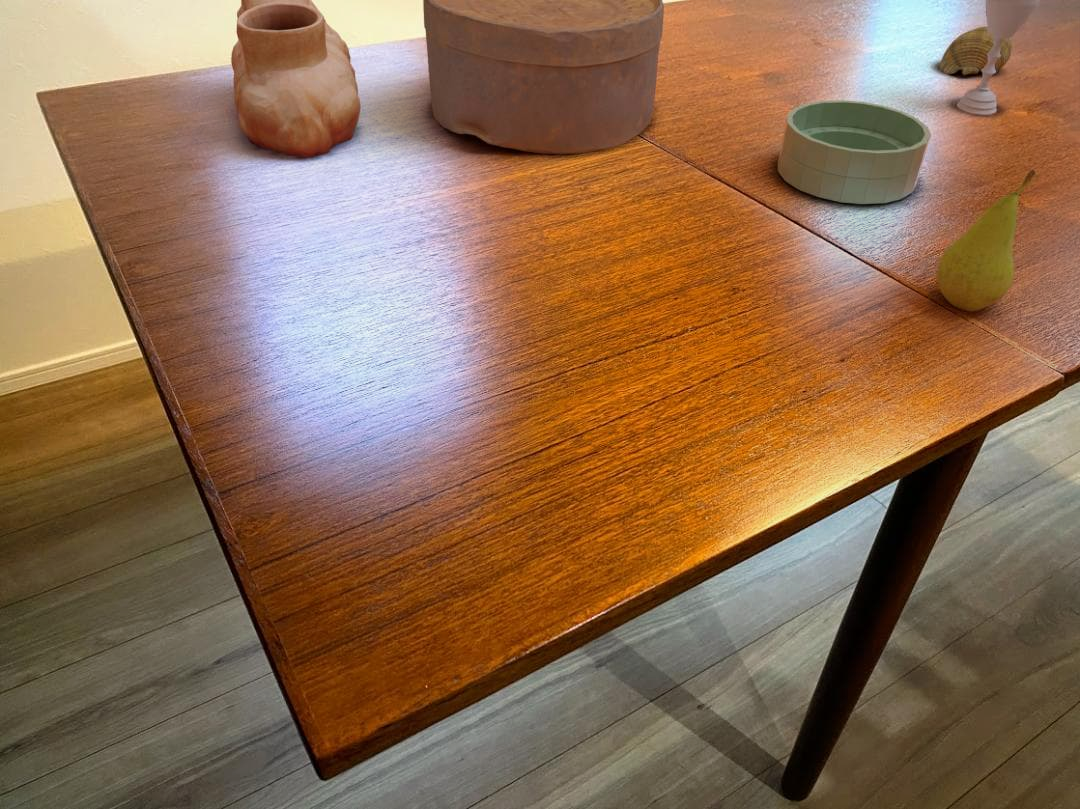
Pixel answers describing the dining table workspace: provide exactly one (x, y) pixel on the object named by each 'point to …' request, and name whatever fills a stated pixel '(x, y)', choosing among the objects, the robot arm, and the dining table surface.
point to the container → (544, 70)
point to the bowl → (852, 151)
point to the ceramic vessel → (292, 79)
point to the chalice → (996, 49)
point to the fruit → (982, 257)
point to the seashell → (973, 52)
